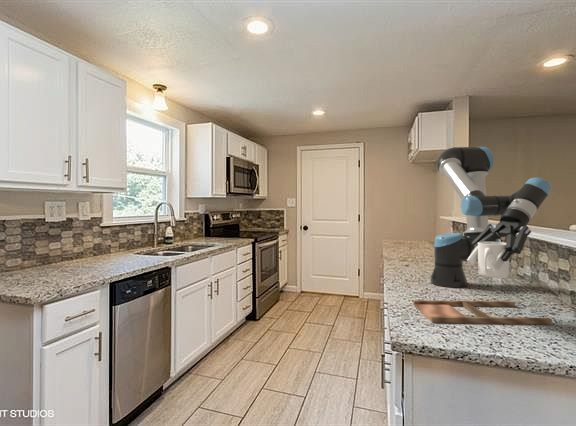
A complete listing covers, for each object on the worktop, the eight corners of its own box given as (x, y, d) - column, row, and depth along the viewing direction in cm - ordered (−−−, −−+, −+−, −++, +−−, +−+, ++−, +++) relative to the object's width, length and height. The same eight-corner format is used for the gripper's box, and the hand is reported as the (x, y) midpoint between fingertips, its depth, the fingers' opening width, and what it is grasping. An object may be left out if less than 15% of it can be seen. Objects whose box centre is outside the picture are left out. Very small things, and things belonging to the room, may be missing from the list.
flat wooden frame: (513, 305, 113) (512, 301, 113) (551, 324, 95) (551, 319, 95) (413, 304, 116) (413, 300, 116) (432, 322, 97) (432, 317, 97)
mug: (469, 277, 102) (469, 244, 102) (483, 271, 110) (483, 240, 109) (500, 281, 96) (500, 246, 95) (512, 275, 103) (512, 242, 103)
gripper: (483, 207, 116) (449, 253, 111) (546, 207, 96) (507, 262, 91) (494, 221, 118) (461, 266, 113) (558, 223, 97) (520, 279, 93)
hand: (481, 265), depth 102 cm, fingers closed on mug, 9 cm apart
